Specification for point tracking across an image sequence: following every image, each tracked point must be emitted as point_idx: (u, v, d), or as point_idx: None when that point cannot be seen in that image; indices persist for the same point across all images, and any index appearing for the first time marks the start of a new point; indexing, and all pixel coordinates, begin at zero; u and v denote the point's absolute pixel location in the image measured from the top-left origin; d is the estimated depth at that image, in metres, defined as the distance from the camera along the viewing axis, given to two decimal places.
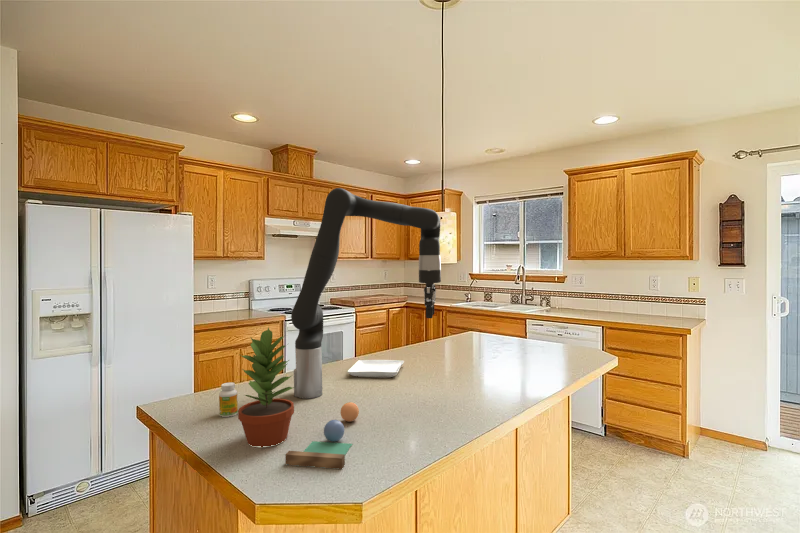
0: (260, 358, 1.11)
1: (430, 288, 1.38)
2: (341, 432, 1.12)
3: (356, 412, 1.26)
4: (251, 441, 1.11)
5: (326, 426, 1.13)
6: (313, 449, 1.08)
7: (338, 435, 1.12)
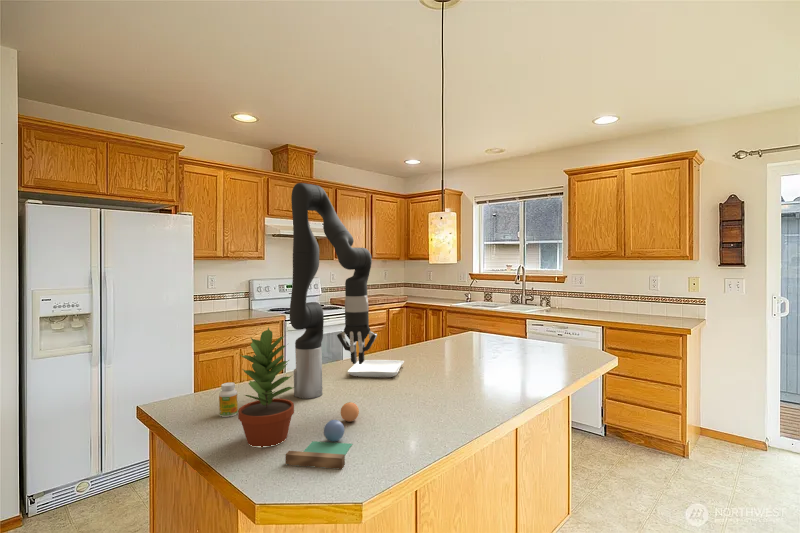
0: (260, 358, 1.11)
1: (376, 335, 1.36)
2: (341, 432, 1.12)
3: (356, 412, 1.26)
4: (251, 441, 1.11)
5: (326, 426, 1.13)
6: (313, 449, 1.08)
7: (338, 435, 1.12)
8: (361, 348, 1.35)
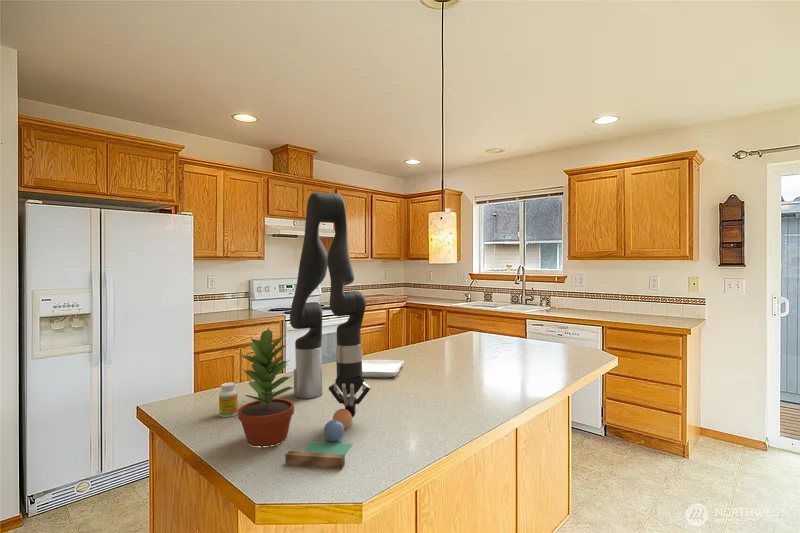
0: (260, 358, 1.11)
1: (370, 388, 1.25)
2: (341, 432, 1.12)
3: (350, 423, 1.21)
4: (251, 441, 1.11)
5: (326, 426, 1.13)
6: (313, 449, 1.08)
7: (338, 435, 1.12)
8: (352, 401, 1.24)
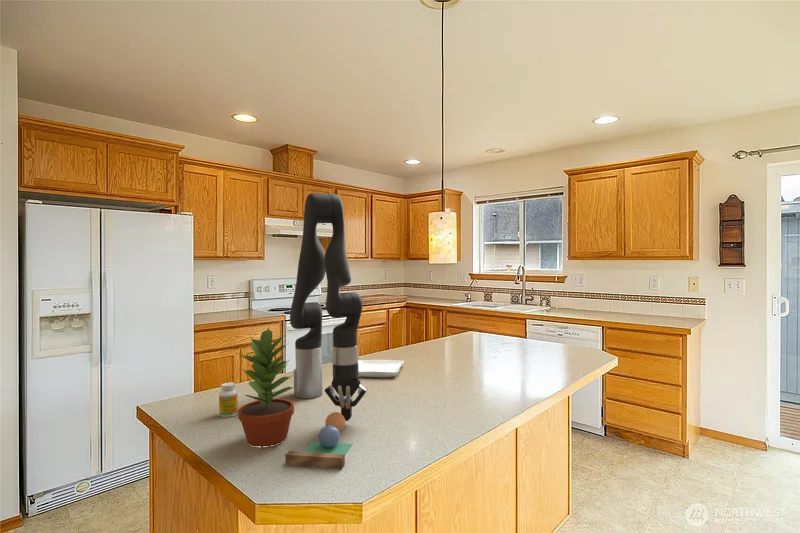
0: (260, 358, 1.11)
1: (366, 390, 1.24)
2: None
3: (344, 422, 1.19)
4: (251, 441, 1.11)
5: (321, 444, 1.08)
6: (313, 449, 1.08)
7: (336, 444, 1.10)
8: (348, 403, 1.23)
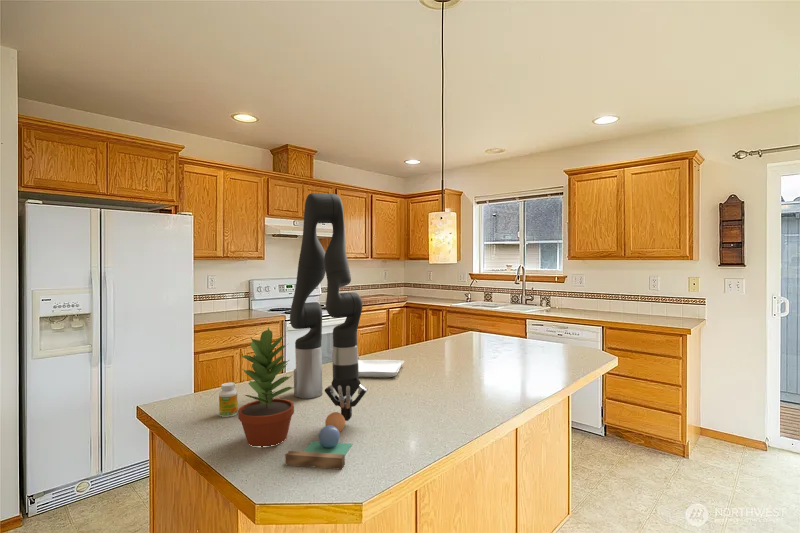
0: (260, 358, 1.11)
1: (366, 390, 1.24)
2: None
3: (344, 422, 1.19)
4: (251, 441, 1.11)
5: (321, 444, 1.08)
6: (313, 449, 1.08)
7: (336, 444, 1.10)
8: (348, 403, 1.23)
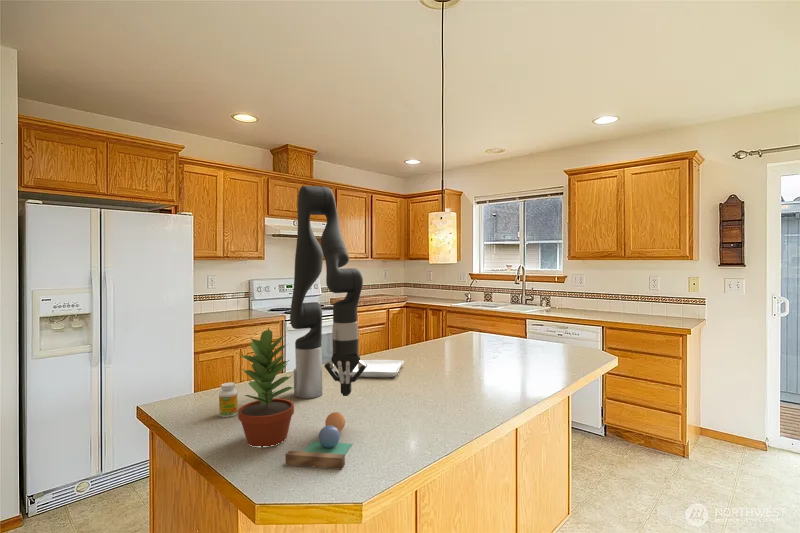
0: (260, 358, 1.11)
1: (366, 366, 1.24)
2: None
3: (344, 422, 1.19)
4: (251, 441, 1.11)
5: (321, 444, 1.08)
6: (313, 449, 1.08)
7: (336, 444, 1.10)
8: (348, 379, 1.23)
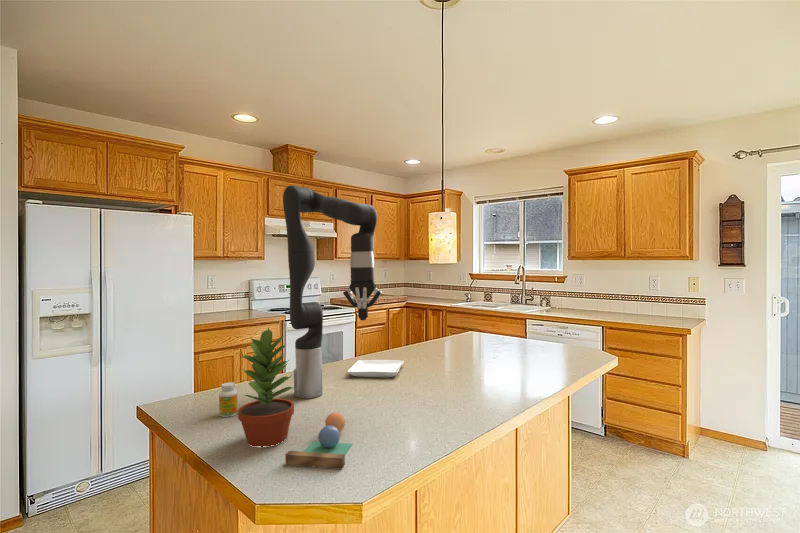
0: (260, 358, 1.11)
1: (381, 293, 1.36)
2: None
3: (344, 422, 1.19)
4: (251, 441, 1.11)
5: (321, 444, 1.08)
6: (313, 449, 1.08)
7: (336, 444, 1.10)
8: (365, 304, 1.35)
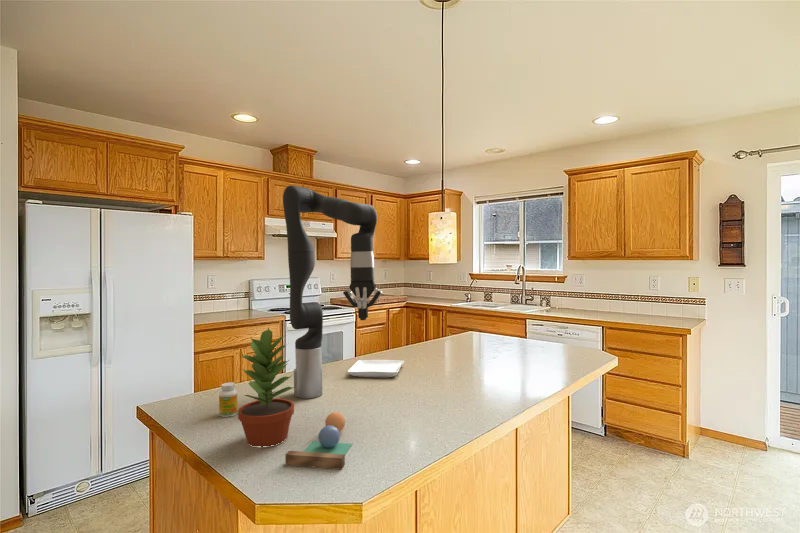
0: (260, 358, 1.11)
1: (381, 293, 1.36)
2: None
3: (344, 422, 1.19)
4: (251, 441, 1.11)
5: (321, 444, 1.08)
6: (313, 449, 1.08)
7: (336, 444, 1.10)
8: (365, 304, 1.35)
